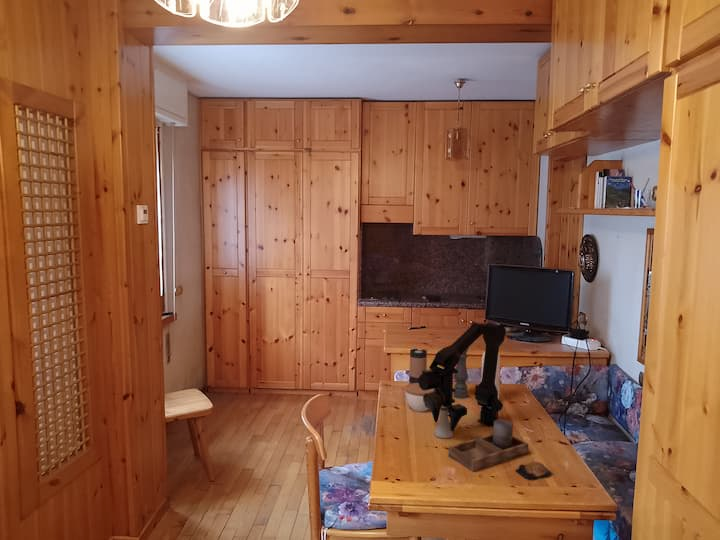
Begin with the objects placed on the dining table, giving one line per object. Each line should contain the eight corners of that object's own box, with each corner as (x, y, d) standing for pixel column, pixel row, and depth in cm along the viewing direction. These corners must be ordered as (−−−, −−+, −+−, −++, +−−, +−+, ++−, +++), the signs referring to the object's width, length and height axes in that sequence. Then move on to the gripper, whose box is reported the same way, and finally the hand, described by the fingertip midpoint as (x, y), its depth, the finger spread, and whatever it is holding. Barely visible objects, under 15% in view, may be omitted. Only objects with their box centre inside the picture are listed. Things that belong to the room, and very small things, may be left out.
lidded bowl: (439, 407, 217) (440, 381, 216) (427, 416, 207) (427, 390, 206) (413, 401, 224) (413, 376, 223) (399, 410, 214) (400, 384, 212)
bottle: (477, 401, 224) (479, 334, 221) (484, 396, 230) (486, 331, 227) (495, 405, 219) (497, 337, 216) (501, 400, 226) (504, 333, 222)
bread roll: (536, 465, 169) (537, 454, 169) (556, 477, 162) (557, 465, 161) (511, 471, 165) (512, 460, 164) (530, 483, 157) (531, 472, 157)
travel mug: (415, 397, 228) (416, 353, 226) (405, 392, 235) (406, 349, 233) (429, 395, 232) (430, 351, 230) (419, 389, 239) (420, 347, 236)
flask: (453, 440, 186) (454, 413, 185) (433, 438, 187) (433, 411, 186) (453, 431, 193) (454, 406, 192) (434, 430, 194) (434, 404, 193)
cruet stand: (501, 440, 186) (502, 413, 185) (527, 453, 176) (529, 425, 175) (448, 456, 173) (449, 427, 172) (473, 471, 163) (474, 441, 162)
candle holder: (451, 393, 234) (453, 340, 231) (465, 393, 234) (466, 339, 231) (455, 398, 227) (457, 343, 225) (469, 398, 228) (471, 343, 225)
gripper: (412, 381, 192) (411, 421, 194) (444, 397, 176) (443, 440, 178) (435, 377, 198) (434, 416, 199) (468, 391, 182) (467, 434, 183)
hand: (443, 426), depth 190 cm, fingers open, 9 cm apart
